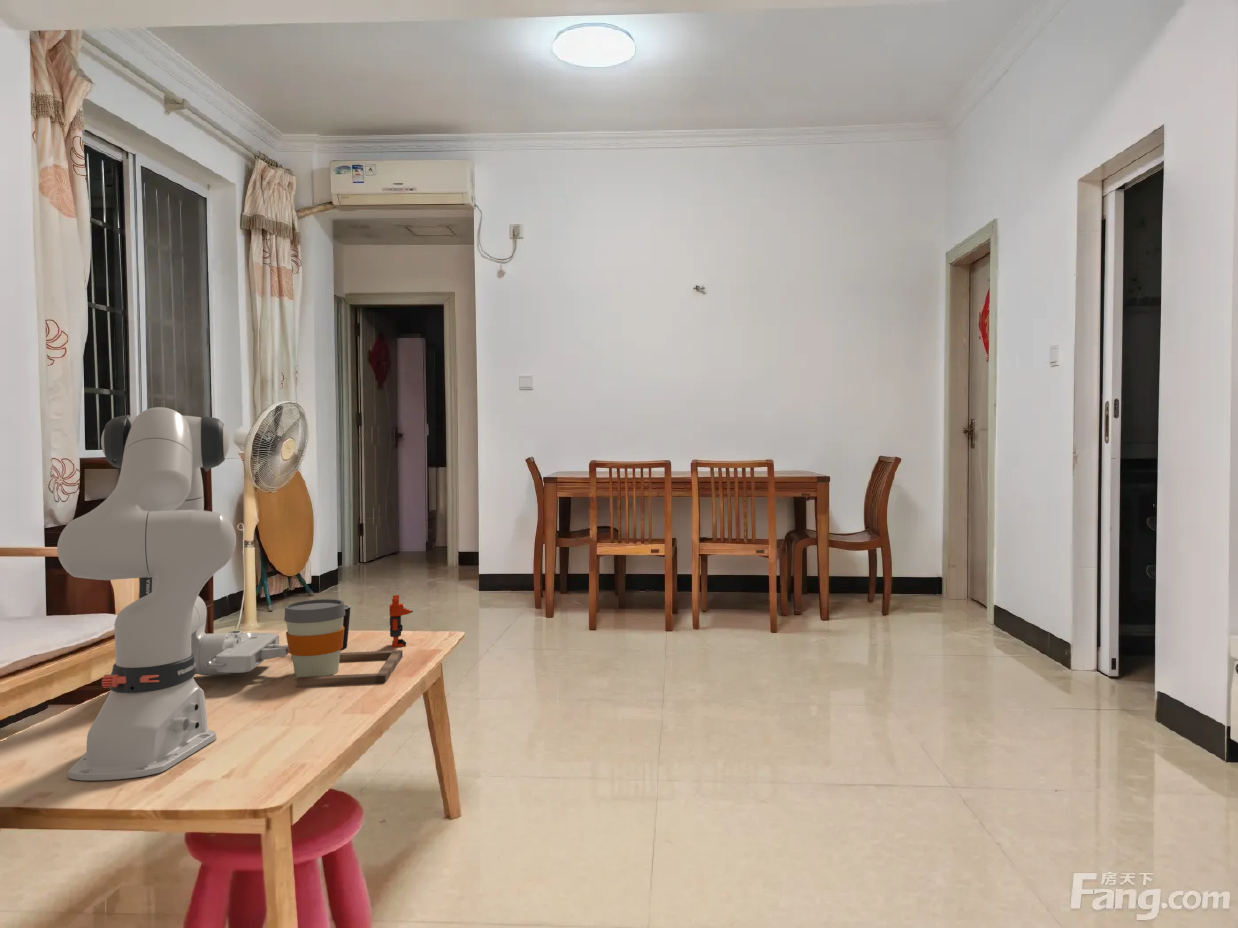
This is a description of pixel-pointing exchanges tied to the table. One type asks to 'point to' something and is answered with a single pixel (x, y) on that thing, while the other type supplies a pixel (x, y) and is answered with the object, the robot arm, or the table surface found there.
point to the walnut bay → (380, 677)
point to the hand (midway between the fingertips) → (287, 650)
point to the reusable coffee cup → (315, 636)
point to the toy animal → (397, 621)
